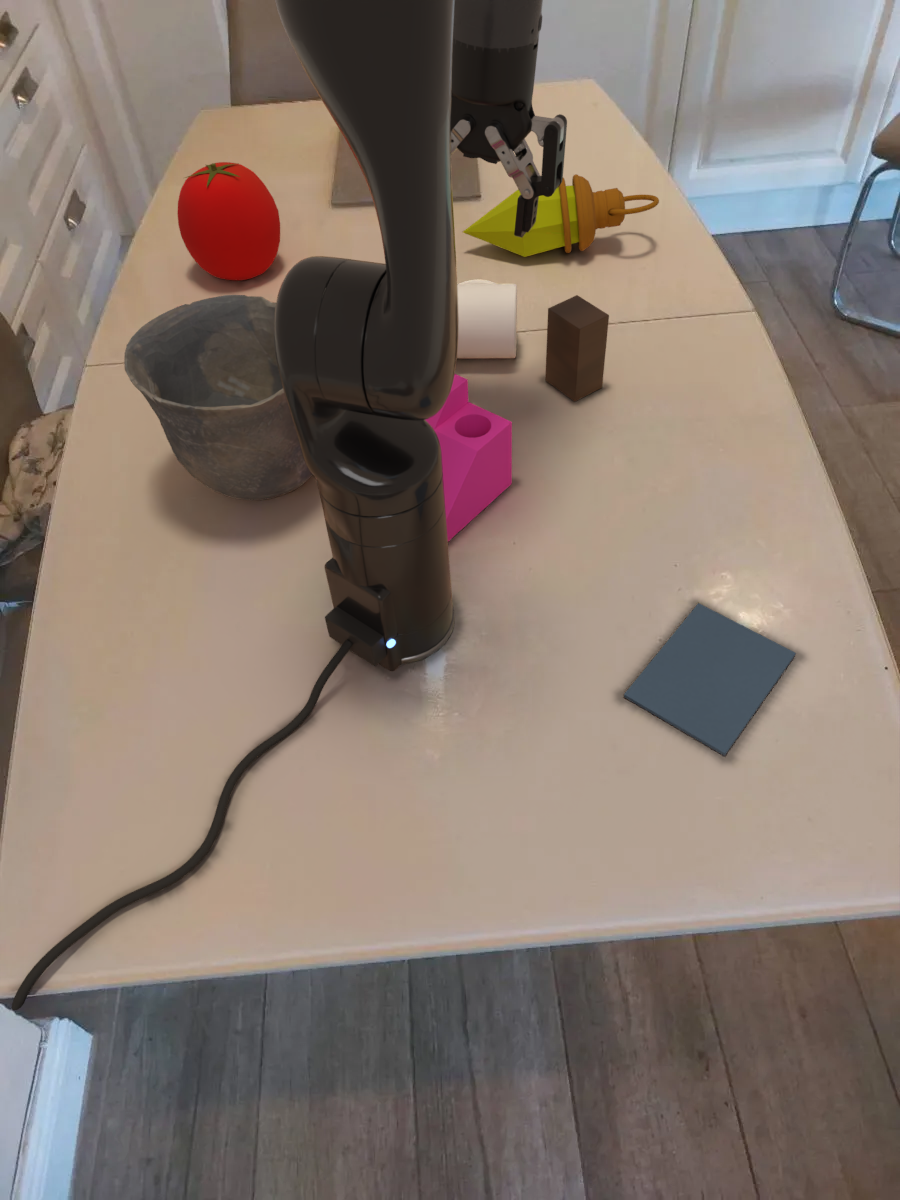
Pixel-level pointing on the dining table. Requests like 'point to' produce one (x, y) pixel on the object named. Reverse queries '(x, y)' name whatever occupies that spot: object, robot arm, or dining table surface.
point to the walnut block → (576, 347)
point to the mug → (487, 319)
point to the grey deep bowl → (220, 395)
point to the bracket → (471, 456)
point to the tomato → (229, 221)
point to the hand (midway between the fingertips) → (479, 222)
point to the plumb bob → (557, 218)
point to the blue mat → (710, 678)
